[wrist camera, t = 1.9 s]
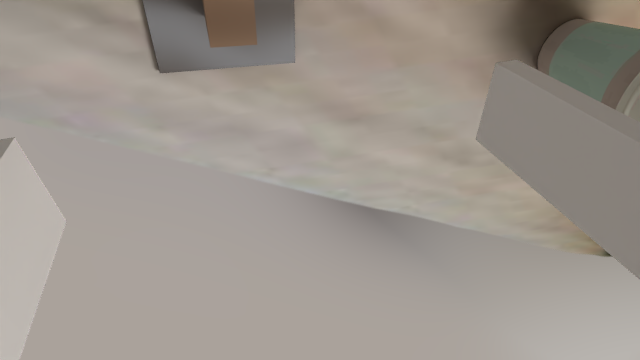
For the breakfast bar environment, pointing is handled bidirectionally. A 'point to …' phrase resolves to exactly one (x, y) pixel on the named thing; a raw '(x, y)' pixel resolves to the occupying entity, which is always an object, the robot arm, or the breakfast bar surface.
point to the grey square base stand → (220, 33)
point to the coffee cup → (596, 62)
